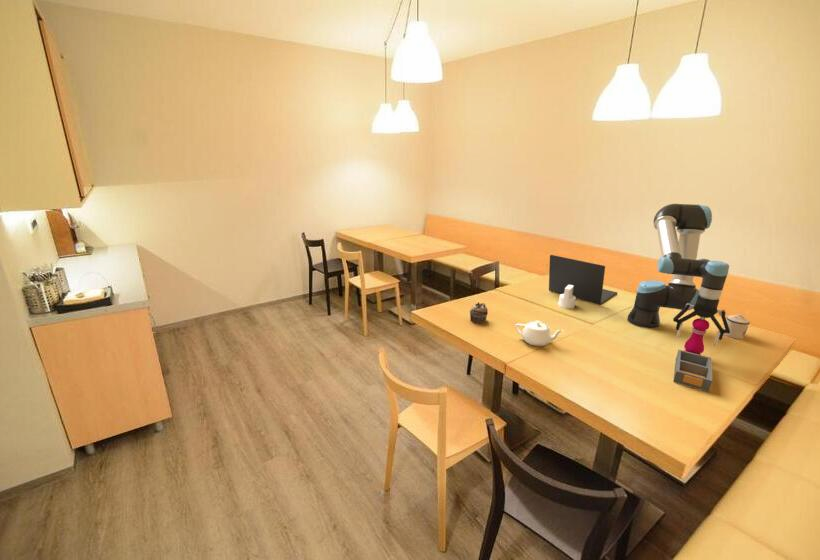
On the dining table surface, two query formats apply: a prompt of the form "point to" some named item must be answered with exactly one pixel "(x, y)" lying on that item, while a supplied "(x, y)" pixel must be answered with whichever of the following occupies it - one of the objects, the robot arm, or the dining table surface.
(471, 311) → the cupcake
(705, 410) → the dining table surface
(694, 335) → the pepper mill
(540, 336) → the teapot
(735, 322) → the teacup with lid
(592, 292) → the laptop
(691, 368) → the rack
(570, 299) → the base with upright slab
